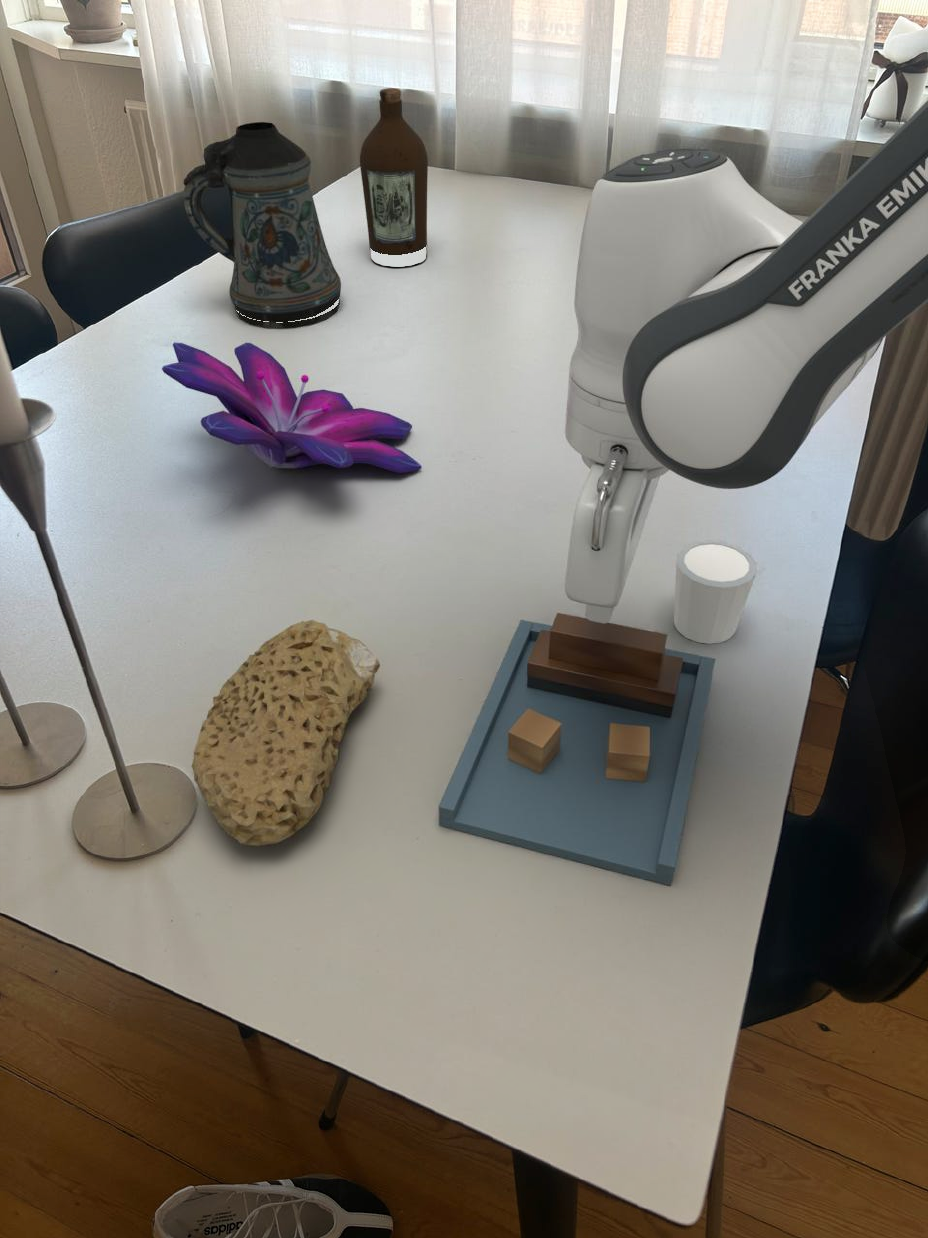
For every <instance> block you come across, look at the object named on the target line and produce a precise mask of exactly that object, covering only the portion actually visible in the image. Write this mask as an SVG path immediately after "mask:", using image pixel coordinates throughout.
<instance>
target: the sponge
mask: <svg viewBox="0 0 928 1238" xmlns="http://www.w3.org/2000/svg"><path fill="white" fill-rule="evenodd" d="M380 667H381V663H380V661H379V659H378V657H376V656H375V655H374V653H373V652H372V651H371V650H370V649H369V648H368V646H367V645H366V644H365V643H364V642H363V641H361V640H360V639H357V638H354V637H351V636H349V635H348V634H347V633H345V632H343V631H341V630H339V629H334V628H331V627H328V626H327V624H326V623H324V622H319V621H316V620H314V619H311V620H306V621H304V620H302V621H299V622H297V623H294V624H291V625H290V626H288V627H287V628H286V629H284V630H282V631H281V632H279V633H278V634H275V636H273V637H271V638H270V639H268V640H266V641H264V642H263V643H262V645H261V646H260V647H259V649H258V650H257V649H256V651H254V654H250V655H249V656H248V657H247V659H246V660H245V661H244V662H243V663H242V664H240V666H239V667H238V669H237V670H236V671H235V672H234V673H233V674H232V675H231V676H230V677H229V678H228V679H227V680H226V682H224V684H222V686H221V688H220V690H219V693H218V694H217V696H213V697H212V701H213V702H212V703H213V706H211V708H210V709H209V710H208V711H207V715H206V719H204V720H203V723H202V725H201V728H200V730H199V731H200V733H199V734H198V737H197V741H196V744H195V746H194V747H195V748H194V750H193V760H192V763H191V768H192V770H193V776H194V777H193V779H194V781H195V783H196V785H197V787H198V789H199V791H200V793H201V796H202V799H203V800H204V801H205V803H206V804H207V806H208V807H209V810H210V811H211V813H212V814H213V815H214V816H215V818H216V821H217V823H218V824H219V825H220V827H221V828H222V829H223V830H224V831H225V832H226V833H227V834H228V835H229V836H230V837H231V838H233V839H235V840H236V841H238V843H239V845H245V846H265V845H272V844H273V845H275V844H278V843H280V842H282V841H284V840H286V839H288V838H290V837H291V836H293V835H294V834H296V832H297V831H299V830H300V829H302V828H304V827H305V826H306V825H307V824H308V823H309V822H310V821H311V820H312V818H313V817H314V816H315V814H316V813H317V812H318V811H319V809H320V808H321V806H322V803H323V801H324V792H325V791H326V790H327V789H329V786H330V781H331V778H332V775H333V773H334V769H335V768H334V767H335V766H336V764H337V761H338V759H339V748H340V747H339V746H340V743H341V742H340V741H341V740H342V739H343V737H344V735H345V731H346V727H347V724H348V723H349V722H348V720H349V719H350V716H351V714H352V713H353V711H354V710H356V709H357V707H358V706H359V705H360V704H361V703H363V701H365V699H366V698H367V691H371V690H372V687H373V684H374V681H375V674H377V673H378V671H379V669H380Z"/></svg>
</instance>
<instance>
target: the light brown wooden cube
mask: <svg viewBox="0 0 928 1238" xmlns="http://www.w3.org/2000/svg"><path fill="white" fill-rule="evenodd" d="M649 758H650V727H646V726H636V725H625V724H615V723H610V727H609V735H608V743H607V753H606V776H605V777H606V778H608V779H618V780H628V781H637V782H645V781H646V776H647V770H648V764H649Z"/></svg>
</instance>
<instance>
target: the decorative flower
mask: <svg viewBox="0 0 928 1238" xmlns="http://www.w3.org/2000/svg"><path fill="white" fill-rule="evenodd" d="M172 347H173V350H174V353H175V356H176V360H177V362H174V363H173V362H172V363H170V364H165V365H163V366H162V367H161V371H162V372H163V373H164V374H165V375H167V376H168V377H169V378H171V379H173V380H174V381H176V382H177V383H179V384H181V385H182V386H183V387H185V388H186V389H189V390H193V391H196V392H200V393H203V394H206V395H210V396H213V397H216V399H218V401H219V402H220V403H221V404H222V405H223V407H224V408H225V409H226V410H220V411H216V412H214V413H211V414H208V415H206V416H204V417H202V418H201V419H200V425H201V427H202V428H203V429H204V430H205V431H206V432H207V433H208V435H209V436H212V437H214V438H216V439H220V440H222V441H225V442H228V443H229V444H230V443H231V444H233V445H235V446H246V447H247V448H248V449H249V450H250V451H251V453H253V454H254V455H255V456H256V457H258V458H259V459H260V460H261V461H263V463H265V464H266V465H267V466H268V467H270V468H271V467H274V468H275V469H298V468H299V469H300V468H305V467H310V466H316V465H320V464H325V465H329V466H332V467H335V468H338V469H343V468H348V467H351V466H352V465H354V464H368V465H372V466H375V467H378V468H381V469H385V470H387V471H390V472H394V473H398V474H402V473H411V472H417V471H419V470H421V469H422V467H423V466H422V465H421V464H420V463H419V462H418V461H417V460H415V459H414V458H413V457H411V456H410V455H409V454H408V453H406V452H405V451H403V450H401V449H399V448H396V447H394V446H392V445H389V444H386V443H384V442H382V441H379V440H376V439H389V440H404V439H405V438H406V437H407V435H408V434H409V433H410V431H412V429H413V424H411V423H410V422H408V421H406V420H404V419H402V418H399V417H397V416H396V415H393V414H390V413H388V412H384V411H378V410H374V409H369V408H364V407H357V408H354V407H353V405H352V404H351V402H350V401H349V400H348V399H347V397H346V396H345V394H344V393H342V392H338V391H332V390H328V389H317V390H310V391H306V392H304V390H305V387H306V385H307V383H309V376H308V375H307V374H303V375H301V377H300V382H302V383H301V387H300V390H299V393H298V395H297V394H296V392H295V389H294V387H293V384H292V382H291V380H290V377H289V375H288V373H287V371H286V369H285V367H284V366H283V365H282V364H281V363H280V362H279V361H278V360H277V359H276V358H275V357H274V356H273V355H272V354H271V353H270V352H268V351H266V350H264V349H262V348H260V347H259V346H257V345H255V344H253V343H251V342H244V343H243V344H240V345H238V346H236V347H235V348H234V350H233V351H234V355H235V357H236V359H237V361H238V364H239V366H240V369H241V373H242V378H243V379H242V378H241V377H240V376H239V374H238V373H237V372H236V370H234V369H233V368H232V367H231V366H229V365H228V364H226V363H225V362H223V361H222V360H219V359H218V358H217V357H215V356H214V355H211V354H210V353H208V352H206V351H204V350H202V349H199V348H196V347H194V346H192V345H189V344H186V343H183V342H173V344H172Z"/></svg>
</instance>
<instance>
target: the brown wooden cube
mask: <svg viewBox="0 0 928 1238" xmlns="http://www.w3.org/2000/svg"><path fill="white" fill-rule="evenodd" d="M561 727H562V723H560V722H558V721H555V720H553V719H551V718H549V717H546V716H544V715H542V714H540V713H537V712H535V711H533V710H531V709H527V710H526V711H525V713H524V714H523V715H522V716H521V717H520V719H519V720H518V721H517V722H516V723H515V725H514V726H513V727H512V728H511V729H510V730H509V732H508V759H510V760H512V761H514V762H516V763H518V764H520V765H523V766H525V767H527V768H529V769H531V770H533V771H535V772H537V773H539V774H541V773H542V772H543V771H544V769H545V768H546V767H547V766H548V764H549V763H550V762H551V760H552V759H553V758H554V757H555V755H556V754H557V753H558V751H559V750H560V740H561Z"/></svg>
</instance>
